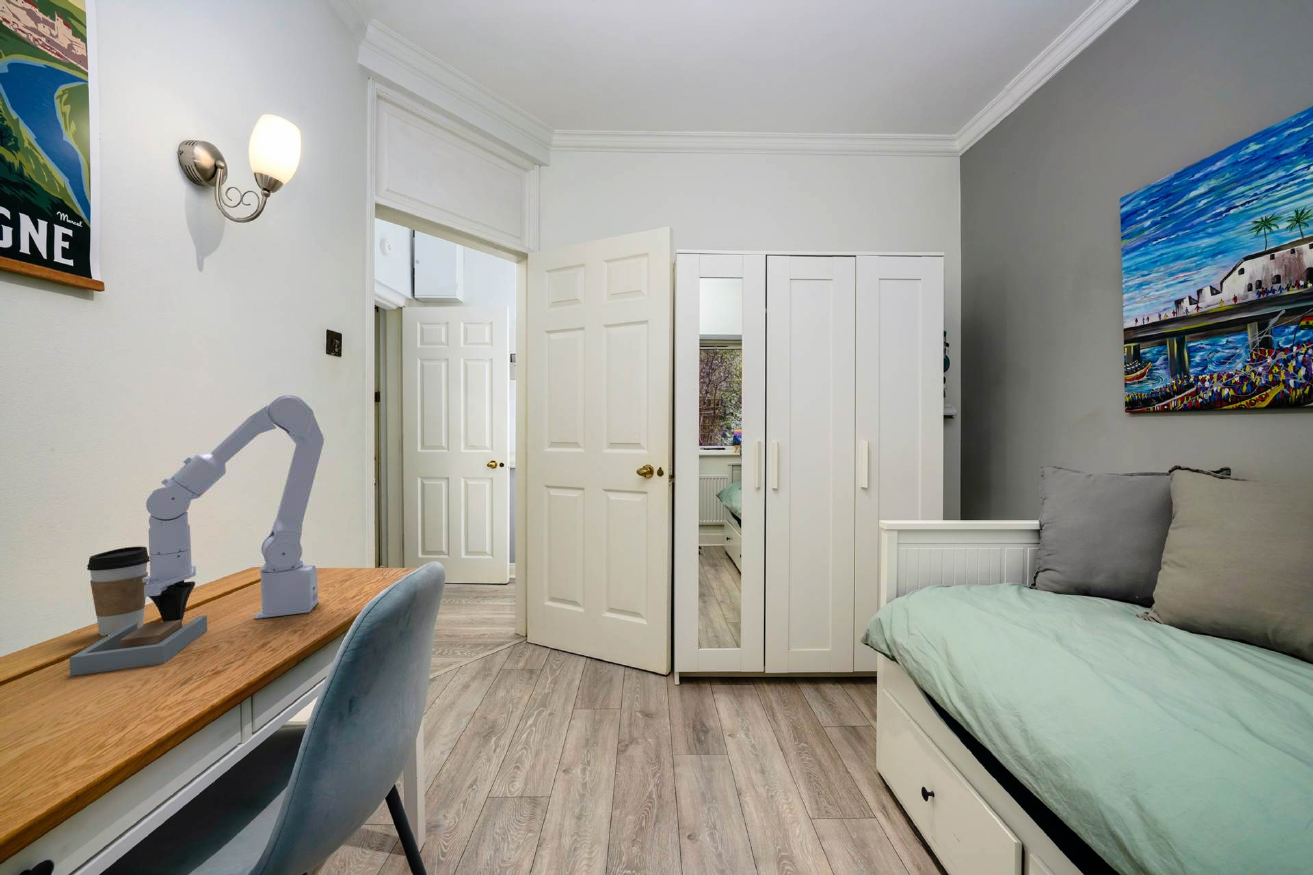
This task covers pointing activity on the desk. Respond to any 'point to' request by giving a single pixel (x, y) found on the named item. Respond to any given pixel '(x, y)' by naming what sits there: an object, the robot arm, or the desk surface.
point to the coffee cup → (119, 587)
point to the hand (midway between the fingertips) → (173, 624)
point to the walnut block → (151, 634)
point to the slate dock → (133, 650)
